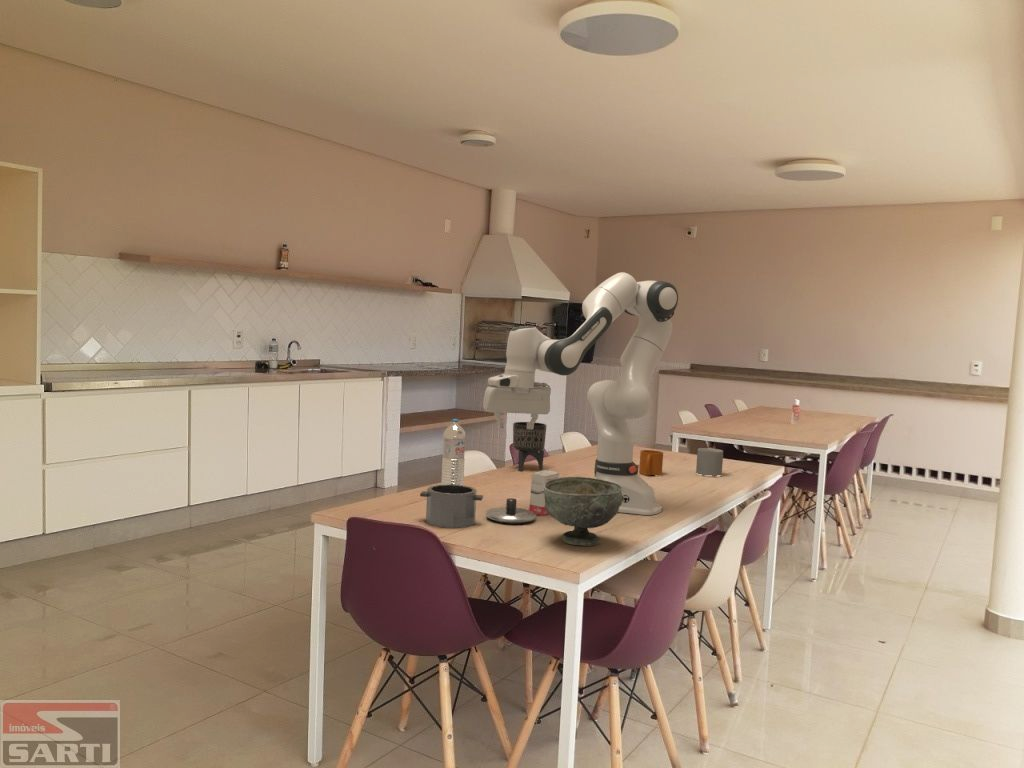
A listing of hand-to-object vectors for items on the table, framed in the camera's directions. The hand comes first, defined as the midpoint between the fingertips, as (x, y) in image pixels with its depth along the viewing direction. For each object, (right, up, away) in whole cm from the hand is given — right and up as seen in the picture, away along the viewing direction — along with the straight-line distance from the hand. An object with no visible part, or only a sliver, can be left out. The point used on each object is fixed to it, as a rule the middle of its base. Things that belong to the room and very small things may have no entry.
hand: (515, 428), depth 229 cm
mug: (+52, -23, +78) cm, 97 cm away
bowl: (+16, -28, -27) cm, 42 cm away
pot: (-18, -25, -13) cm, 33 cm away
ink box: (+8, -25, +4) cm, 27 cm away
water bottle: (-20, -23, +15) cm, 34 cm away
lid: (-1, -25, -7) cm, 26 cm away
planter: (+5, -20, +76) cm, 79 cm away
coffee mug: (+78, -23, +86) cm, 119 cm away
